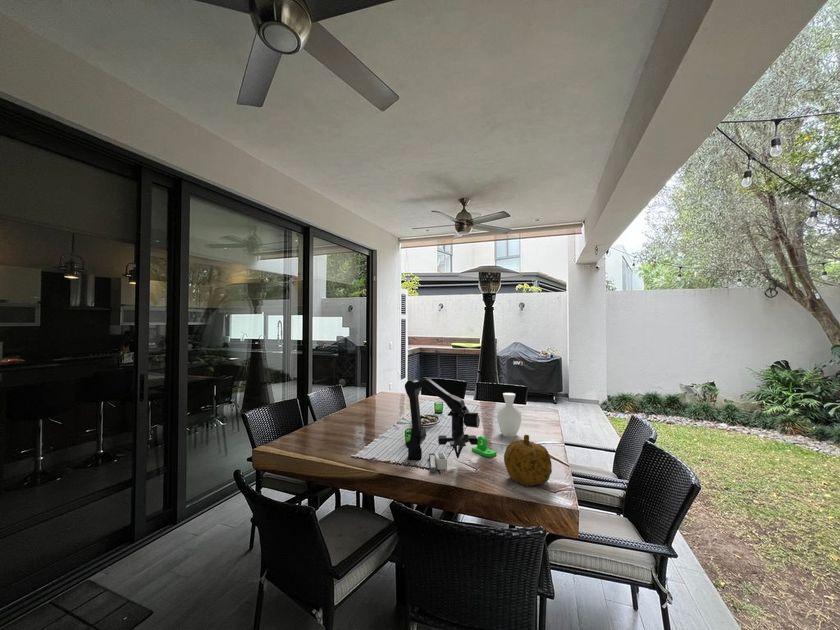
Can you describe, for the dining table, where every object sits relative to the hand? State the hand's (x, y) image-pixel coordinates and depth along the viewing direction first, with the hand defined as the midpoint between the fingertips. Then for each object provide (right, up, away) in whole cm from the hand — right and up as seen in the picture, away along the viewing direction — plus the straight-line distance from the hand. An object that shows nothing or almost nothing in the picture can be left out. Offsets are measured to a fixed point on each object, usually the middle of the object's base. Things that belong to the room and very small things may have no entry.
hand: (457, 457), depth 170 cm
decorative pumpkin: (+29, -4, -16) cm, 33 cm away
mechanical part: (+16, -5, +16) cm, 23 cm away
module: (-8, -4, -1) cm, 9 cm away
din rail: (-12, -4, 0) cm, 13 cm away
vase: (+37, -5, +48) cm, 61 cm away
